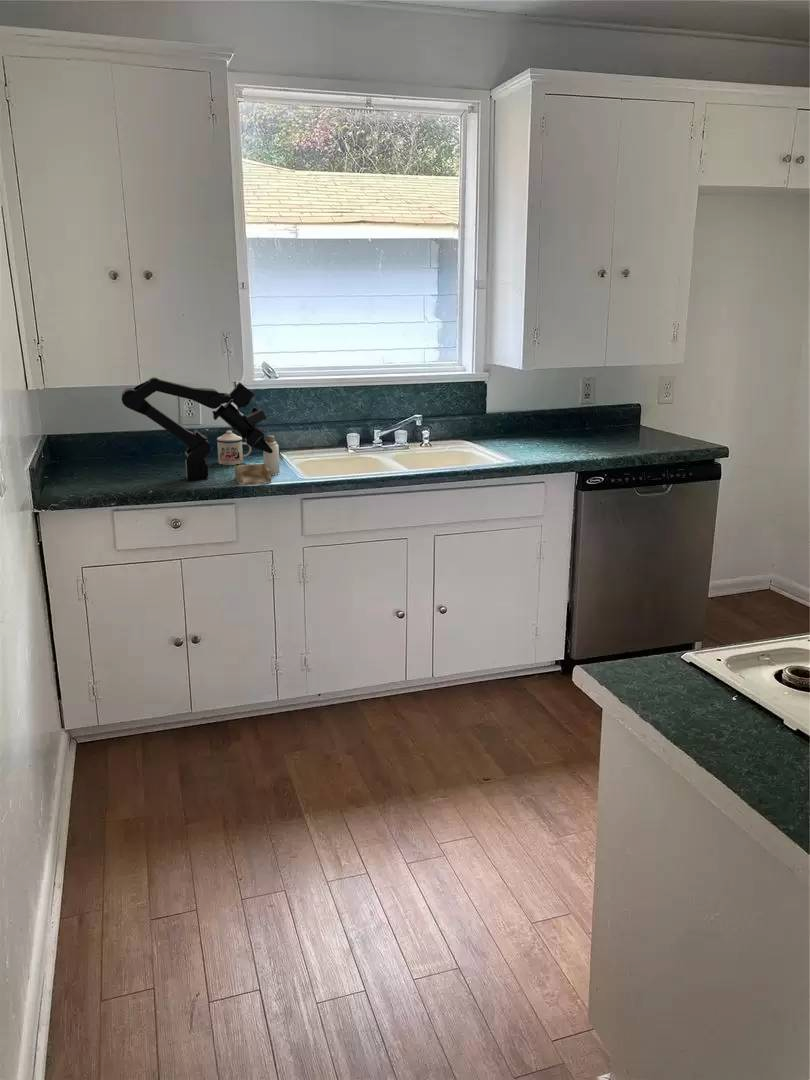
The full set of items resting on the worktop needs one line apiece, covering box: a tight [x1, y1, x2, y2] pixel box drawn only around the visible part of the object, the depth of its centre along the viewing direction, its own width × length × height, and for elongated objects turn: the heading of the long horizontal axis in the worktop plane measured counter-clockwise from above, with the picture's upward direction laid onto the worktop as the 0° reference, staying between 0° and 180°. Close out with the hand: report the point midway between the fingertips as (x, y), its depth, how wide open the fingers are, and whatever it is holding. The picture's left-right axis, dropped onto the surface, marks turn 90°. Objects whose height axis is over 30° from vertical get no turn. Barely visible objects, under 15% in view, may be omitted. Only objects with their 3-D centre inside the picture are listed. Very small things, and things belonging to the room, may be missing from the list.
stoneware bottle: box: [262, 435, 281, 476], centre depth 282 cm, size 5×5×13 cm
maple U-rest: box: [234, 463, 272, 486], centre depth 273 cm, size 10×10×4 cm
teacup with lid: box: [216, 430, 252, 466], centre depth 298 cm, size 12×9×12 cm
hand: (269, 449), depth 281 cm, fingers open, 9 cm apart
